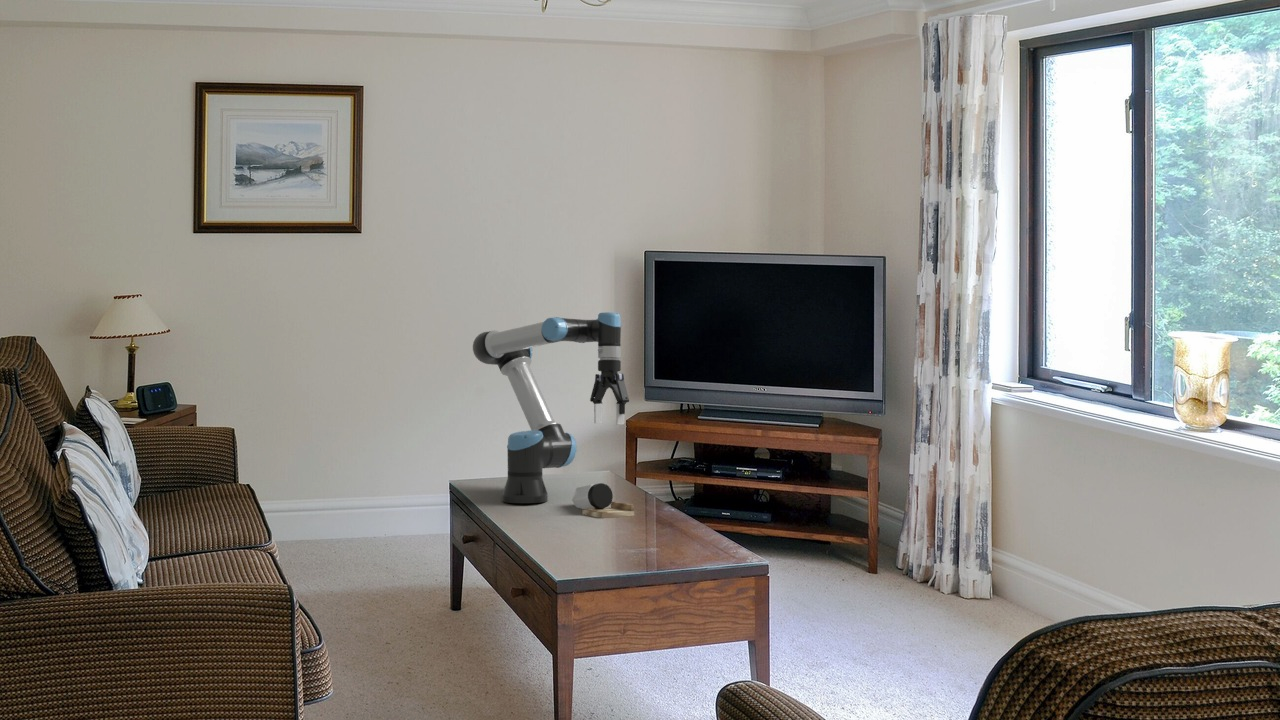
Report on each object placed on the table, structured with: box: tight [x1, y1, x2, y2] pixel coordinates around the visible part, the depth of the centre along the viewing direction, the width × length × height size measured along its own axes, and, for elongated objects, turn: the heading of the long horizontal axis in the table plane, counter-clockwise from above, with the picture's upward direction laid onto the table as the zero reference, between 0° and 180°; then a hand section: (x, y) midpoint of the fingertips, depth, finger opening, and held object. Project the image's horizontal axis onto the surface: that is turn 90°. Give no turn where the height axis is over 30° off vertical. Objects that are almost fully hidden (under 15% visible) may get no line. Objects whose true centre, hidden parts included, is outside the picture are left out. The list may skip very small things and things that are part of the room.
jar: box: [571, 482, 614, 510], centre depth 355 cm, size 9×8×12 cm
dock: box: [581, 501, 635, 519], centre depth 348 cm, size 12×12×4 cm
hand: (609, 423), depth 359 cm, fingers open, 13 cm apart
